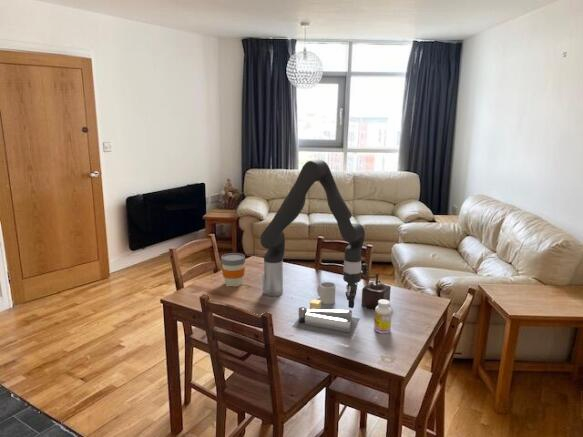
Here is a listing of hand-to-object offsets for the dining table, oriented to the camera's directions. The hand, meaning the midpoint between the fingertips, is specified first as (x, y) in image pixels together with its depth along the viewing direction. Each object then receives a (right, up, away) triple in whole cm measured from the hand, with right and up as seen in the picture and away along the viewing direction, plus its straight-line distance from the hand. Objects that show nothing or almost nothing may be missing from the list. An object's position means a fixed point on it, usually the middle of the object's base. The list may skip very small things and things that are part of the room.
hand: (351, 307), depth 186 cm
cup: (-10, -1, +18) cm, 20 cm away
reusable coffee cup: (-57, +4, +38) cm, 68 cm away
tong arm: (-10, -5, -3) cm, 12 cm away
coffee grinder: (+11, -2, +15) cm, 19 cm away
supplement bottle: (+12, -8, -9) cm, 17 cm away
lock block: (-16, -4, +3) cm, 16 cm away
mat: (-11, -6, -4) cm, 14 cm away
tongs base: (-13, -6, -8) cm, 16 cm away
